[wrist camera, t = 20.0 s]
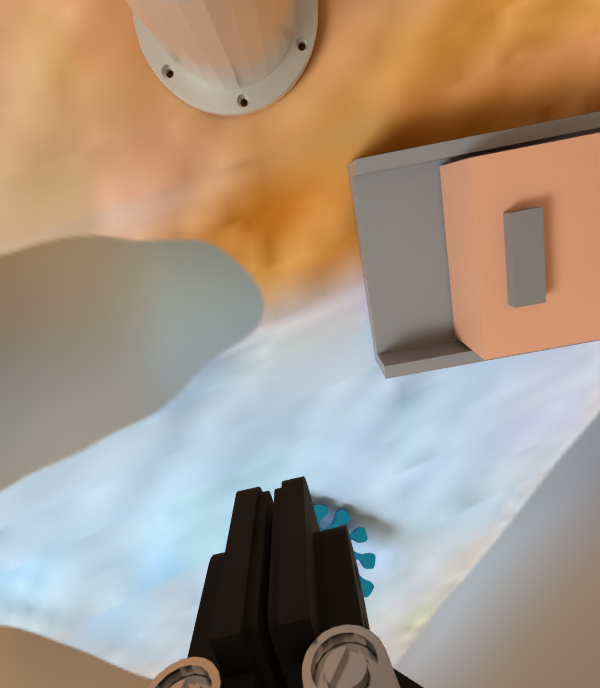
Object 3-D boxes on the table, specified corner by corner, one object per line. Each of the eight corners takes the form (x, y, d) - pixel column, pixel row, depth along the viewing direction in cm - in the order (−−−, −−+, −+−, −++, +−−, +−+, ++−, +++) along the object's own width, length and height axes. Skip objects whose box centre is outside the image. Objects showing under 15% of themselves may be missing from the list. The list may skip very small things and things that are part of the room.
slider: (562, 142, 33) (631, 125, 27) (565, 316, 37) (626, 340, 30) (439, 166, 34) (476, 156, 27) (455, 336, 37) (490, 364, 31)
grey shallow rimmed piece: (613, 112, 34) (659, 99, 30) (611, 317, 39) (650, 331, 35) (347, 165, 35) (355, 159, 31) (375, 359, 40) (386, 378, 35)
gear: (394, 537, 43) (354, 653, 38) (367, 541, 48) (329, 644, 43) (293, 477, 43) (239, 585, 37) (277, 487, 48) (228, 584, 43)
